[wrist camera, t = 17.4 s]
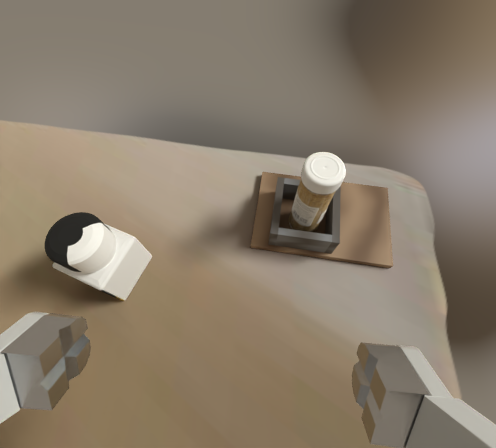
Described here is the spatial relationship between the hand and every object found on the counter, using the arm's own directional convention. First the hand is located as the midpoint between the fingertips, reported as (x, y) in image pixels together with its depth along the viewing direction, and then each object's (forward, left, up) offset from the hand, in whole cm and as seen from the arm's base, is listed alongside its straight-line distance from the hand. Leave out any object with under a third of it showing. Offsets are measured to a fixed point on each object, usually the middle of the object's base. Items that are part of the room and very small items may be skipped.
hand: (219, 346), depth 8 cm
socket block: (+9, +21, -29) cm, 37 cm away
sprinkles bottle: (+6, +19, -29) cm, 35 cm away
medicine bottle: (-19, +8, -30) cm, 36 cm away
